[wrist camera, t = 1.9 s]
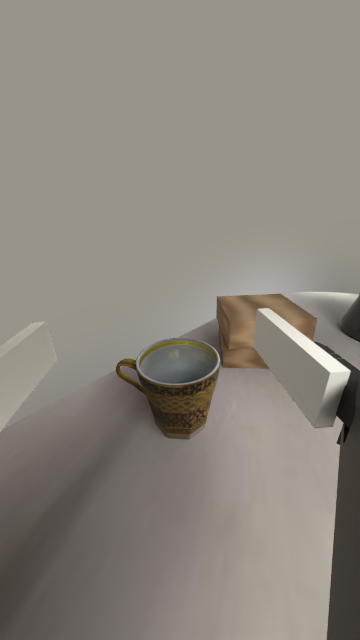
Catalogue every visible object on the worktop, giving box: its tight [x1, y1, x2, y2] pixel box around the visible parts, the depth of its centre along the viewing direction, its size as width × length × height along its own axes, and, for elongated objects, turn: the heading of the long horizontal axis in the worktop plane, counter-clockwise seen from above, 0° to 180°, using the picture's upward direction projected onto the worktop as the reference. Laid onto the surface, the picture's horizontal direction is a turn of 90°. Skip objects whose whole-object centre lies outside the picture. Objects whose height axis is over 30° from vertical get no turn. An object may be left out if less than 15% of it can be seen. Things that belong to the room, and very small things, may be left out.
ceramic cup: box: [116, 338, 220, 439], centre depth 28 cm, size 13×10×10 cm
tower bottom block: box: [219, 325, 270, 369], centre depth 45 cm, size 14×14×5 cm
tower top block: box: [217, 294, 317, 349], centre depth 43 cm, size 14×14×5 cm
